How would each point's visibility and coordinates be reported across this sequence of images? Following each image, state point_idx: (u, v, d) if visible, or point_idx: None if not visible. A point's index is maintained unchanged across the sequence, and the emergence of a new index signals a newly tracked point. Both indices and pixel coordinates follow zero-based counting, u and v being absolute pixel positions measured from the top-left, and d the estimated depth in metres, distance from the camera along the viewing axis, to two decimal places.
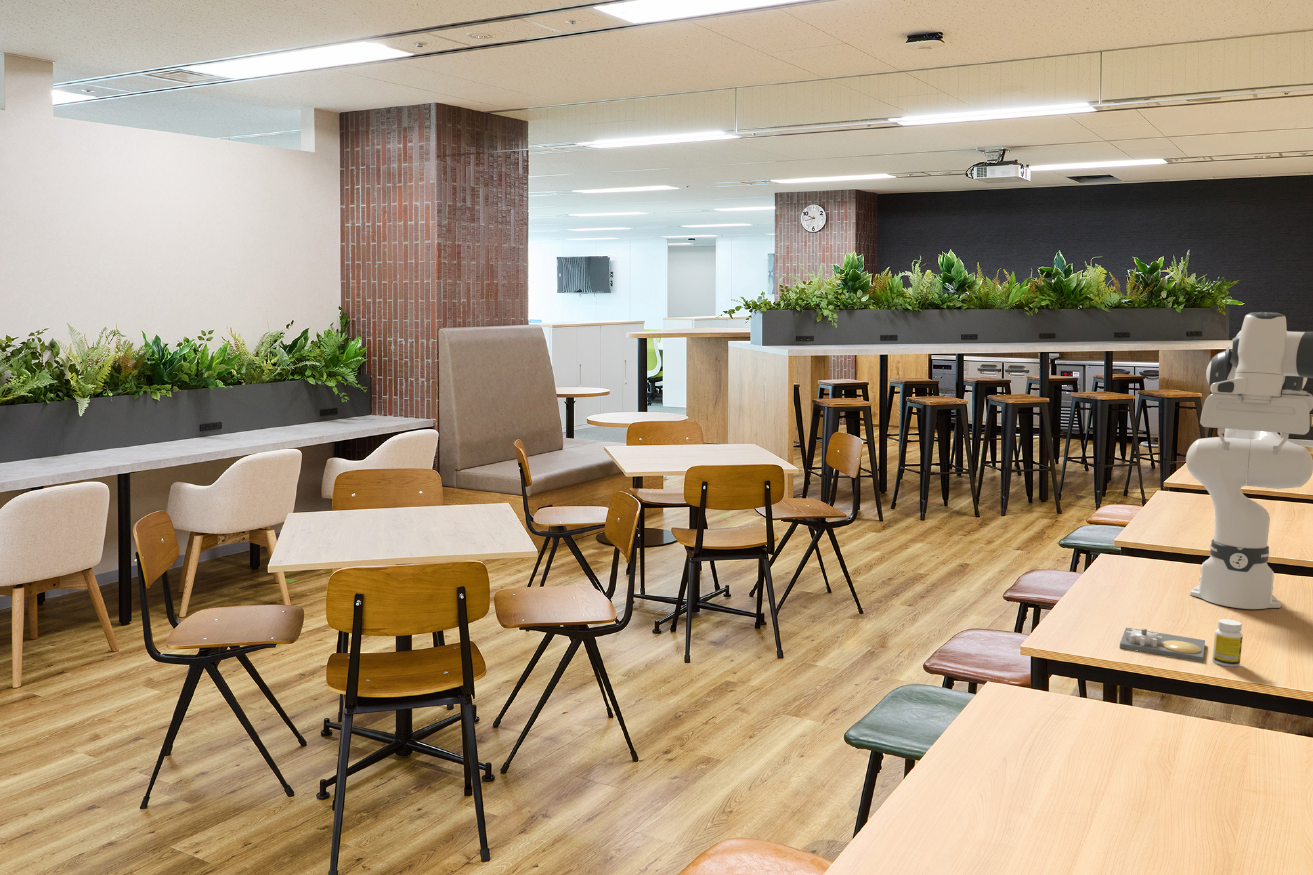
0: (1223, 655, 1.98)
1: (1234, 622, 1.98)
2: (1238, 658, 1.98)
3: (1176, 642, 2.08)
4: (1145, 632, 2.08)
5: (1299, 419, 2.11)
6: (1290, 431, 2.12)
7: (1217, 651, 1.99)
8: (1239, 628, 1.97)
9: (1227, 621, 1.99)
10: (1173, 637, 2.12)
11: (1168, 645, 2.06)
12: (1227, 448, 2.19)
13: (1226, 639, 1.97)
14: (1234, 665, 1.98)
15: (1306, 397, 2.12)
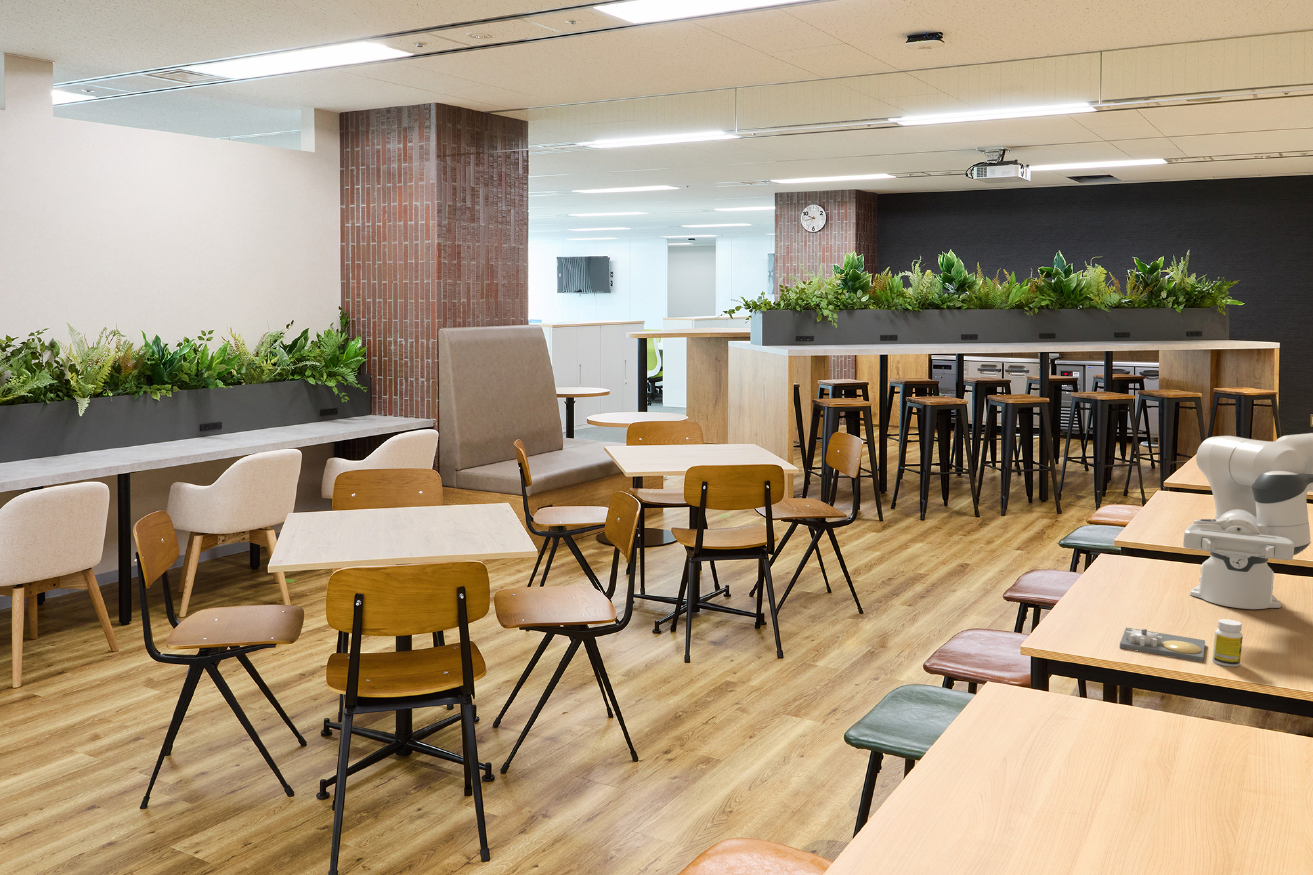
0: (1223, 655, 1.98)
1: (1234, 622, 1.98)
2: (1238, 658, 1.98)
3: (1176, 642, 2.08)
4: (1145, 632, 2.08)
5: (1282, 540, 2.11)
6: (1275, 542, 2.09)
7: (1217, 651, 1.99)
8: (1239, 628, 1.97)
9: (1227, 621, 1.99)
10: (1173, 637, 2.12)
11: (1168, 645, 2.06)
12: (1213, 543, 2.11)
13: (1226, 639, 1.97)
14: (1234, 665, 1.98)
15: None
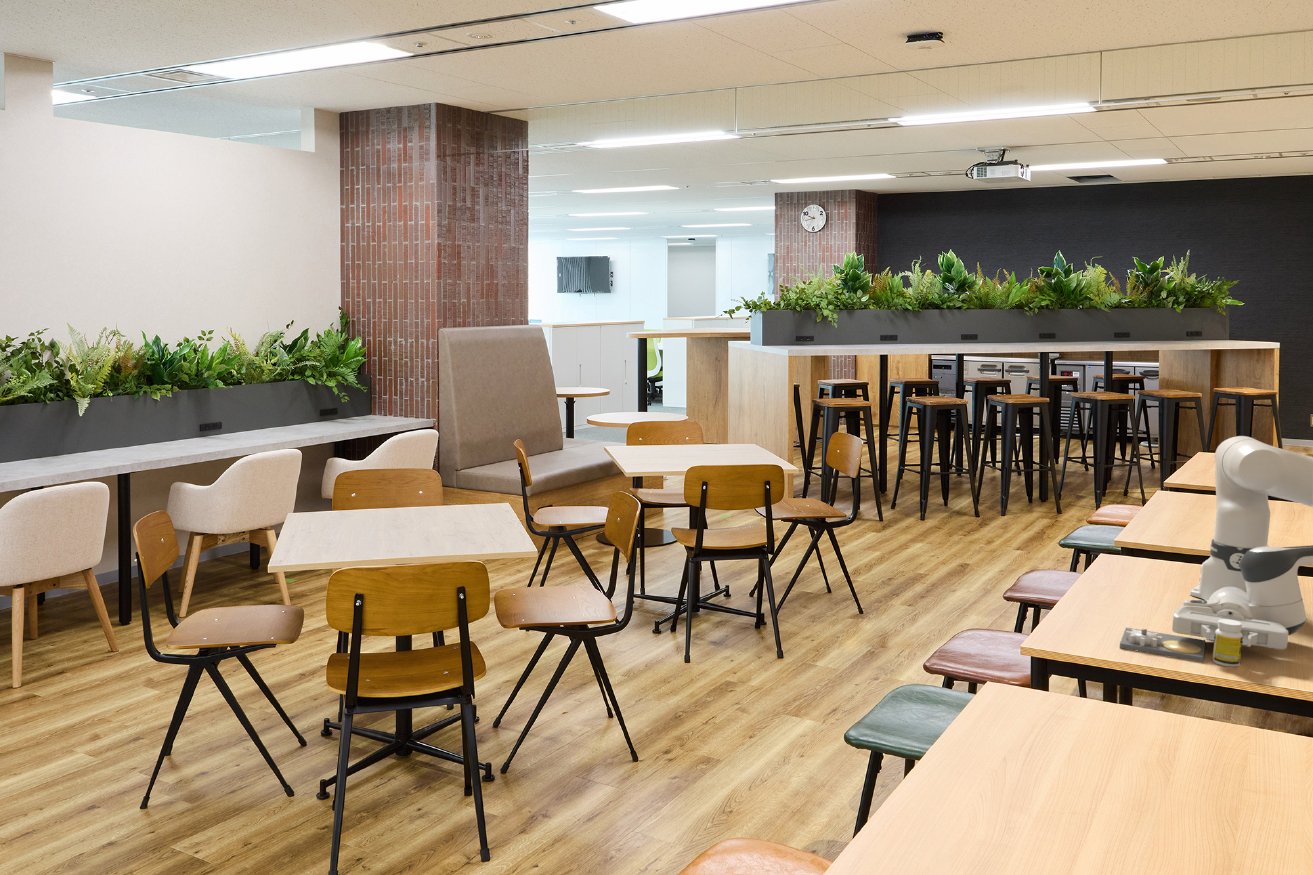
0: (1223, 655, 1.98)
1: (1234, 622, 1.98)
2: (1238, 658, 1.98)
3: (1176, 642, 2.08)
4: (1145, 632, 2.08)
5: (1276, 627, 2.01)
6: (1268, 630, 1.99)
7: (1217, 651, 1.99)
8: (1239, 628, 1.97)
9: (1227, 621, 1.99)
10: (1173, 637, 2.12)
11: (1168, 645, 2.06)
12: (1213, 632, 2.00)
13: (1226, 638, 1.97)
14: (1234, 665, 1.98)
15: None
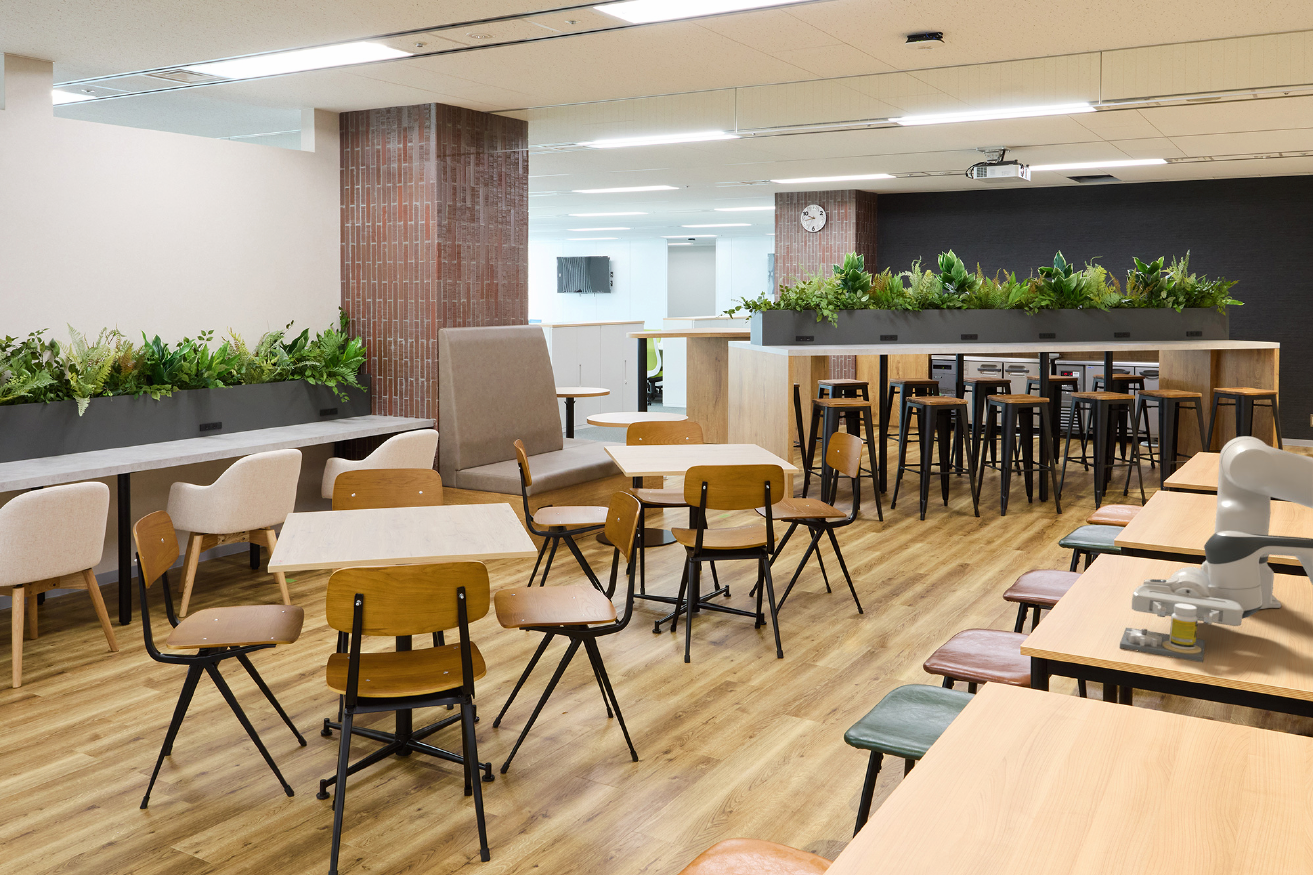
0: (1179, 638, 2.03)
1: (1189, 606, 2.04)
2: (1193, 641, 2.03)
3: None
4: (1145, 632, 2.08)
5: (1231, 604, 2.06)
6: (1223, 607, 2.05)
7: (1173, 635, 2.04)
8: (1194, 612, 2.03)
9: (1183, 605, 2.05)
10: None
11: (1168, 645, 2.06)
12: (1163, 609, 2.06)
13: (1182, 622, 2.03)
14: (1189, 648, 2.03)
15: None
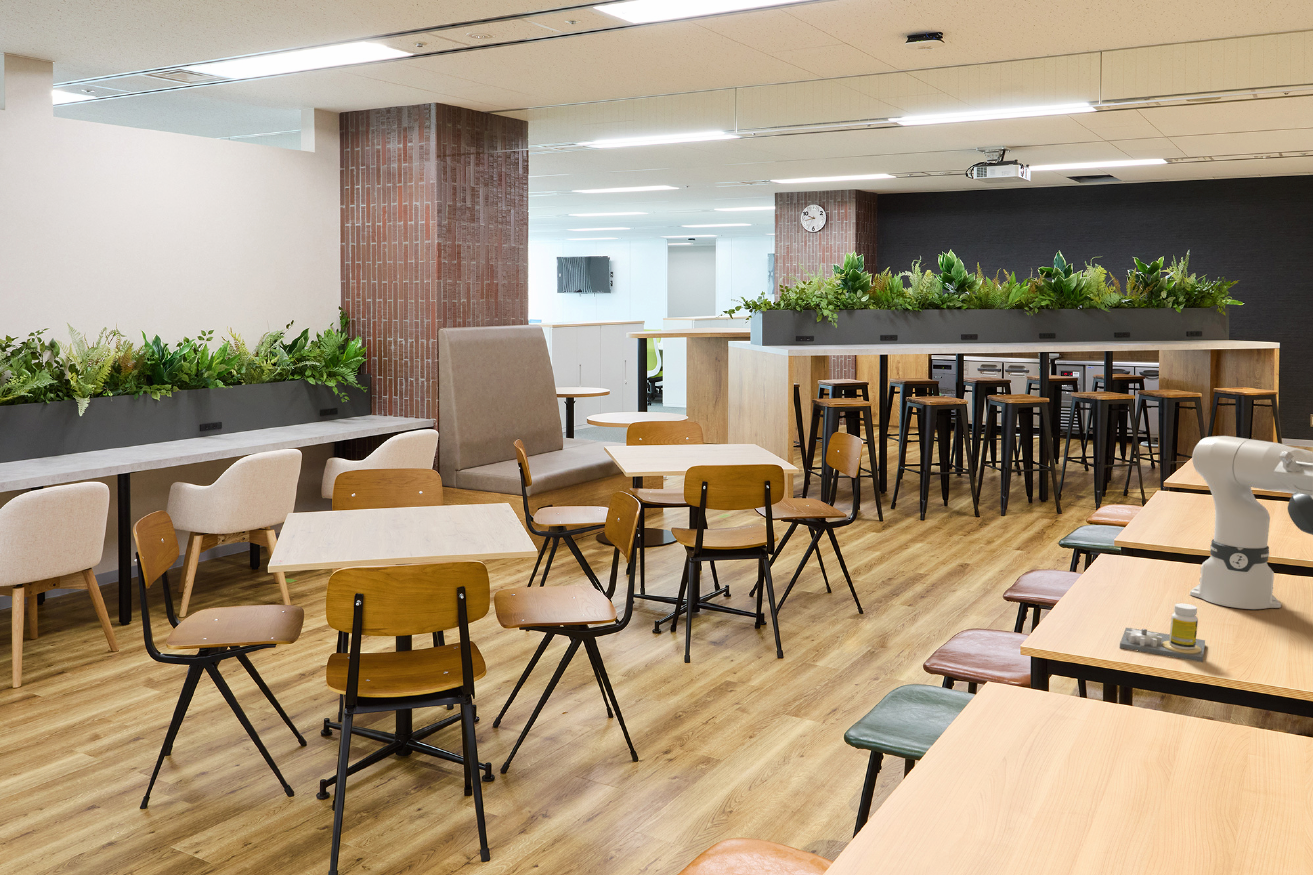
0: (1179, 638, 2.03)
1: (1190, 606, 2.04)
2: (1193, 641, 2.03)
3: None
4: (1145, 632, 2.08)
5: (1287, 481, 2.11)
6: (1284, 474, 2.09)
7: (1174, 635, 2.04)
8: (1194, 612, 2.03)
9: (1183, 605, 2.05)
10: None
11: (1168, 645, 2.06)
12: None
13: (1182, 622, 2.03)
14: (1189, 648, 2.03)
15: None
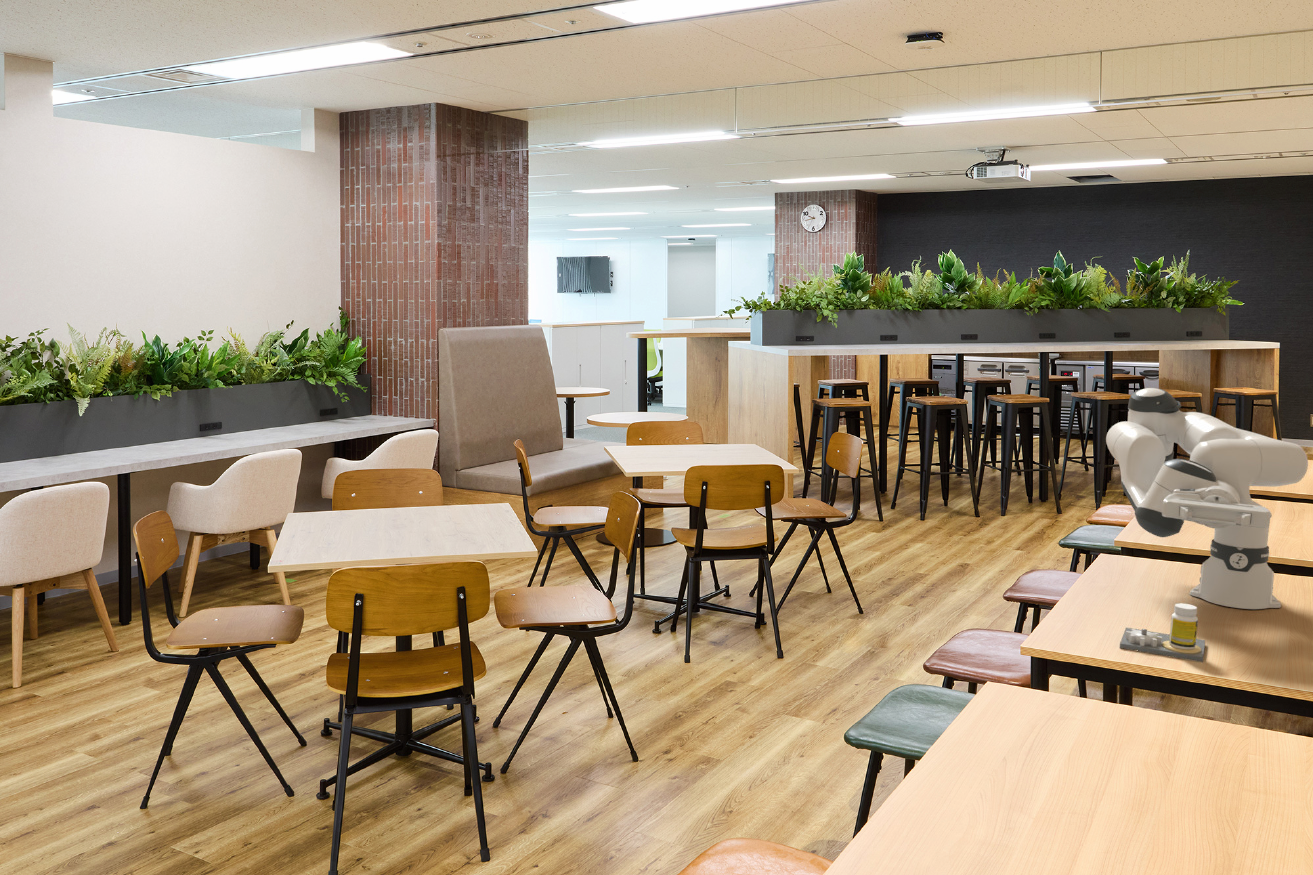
0: (1179, 638, 2.03)
1: (1190, 606, 2.04)
2: (1193, 641, 2.03)
3: None
4: (1145, 632, 2.08)
5: (1259, 508, 2.13)
6: (1252, 510, 2.11)
7: (1174, 635, 2.04)
8: (1194, 612, 2.03)
9: (1183, 605, 2.05)
10: None
11: (1168, 645, 2.06)
12: (1190, 511, 2.13)
13: (1182, 622, 2.03)
14: (1189, 648, 2.03)
15: None
